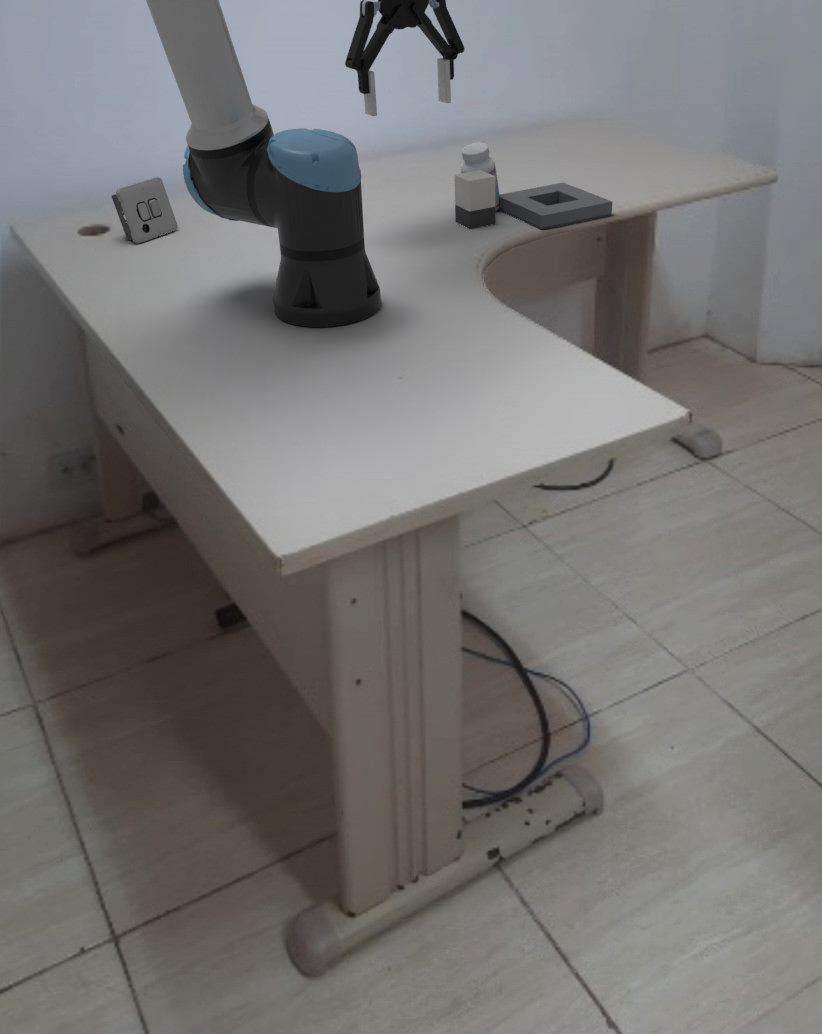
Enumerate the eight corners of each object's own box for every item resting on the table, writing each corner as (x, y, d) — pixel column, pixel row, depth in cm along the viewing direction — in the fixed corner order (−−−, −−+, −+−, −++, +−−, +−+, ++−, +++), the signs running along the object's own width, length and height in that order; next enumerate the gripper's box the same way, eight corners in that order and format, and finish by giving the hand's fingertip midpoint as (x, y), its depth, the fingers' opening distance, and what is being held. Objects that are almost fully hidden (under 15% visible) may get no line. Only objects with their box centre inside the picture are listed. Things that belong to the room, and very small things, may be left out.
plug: (495, 224, 180) (495, 176, 176) (469, 229, 178) (468, 181, 174) (480, 217, 184) (480, 170, 180) (455, 222, 182) (454, 174, 178)
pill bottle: (466, 219, 186) (455, 158, 179) (469, 202, 191) (458, 143, 183) (500, 215, 185) (490, 153, 177) (502, 198, 189) (493, 138, 182)
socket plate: (611, 215, 181) (612, 201, 179) (542, 230, 176) (542, 215, 174) (562, 195, 192) (563, 182, 191) (496, 208, 187) (496, 195, 186)
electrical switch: (137, 245, 179) (123, 189, 175) (118, 243, 182) (105, 188, 178) (179, 231, 185) (167, 176, 181) (161, 229, 188) (148, 175, 184)
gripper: (458, -49, 168) (462, 93, 179) (315, -33, 158) (329, 116, 170) (484, -46, 162) (486, 100, 173) (337, -29, 153) (349, 124, 164)
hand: (408, 108), depth 172 cm, fingers open, 13 cm apart
